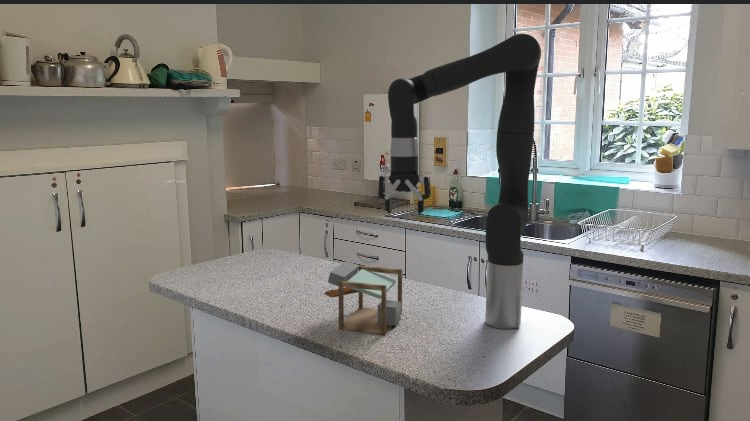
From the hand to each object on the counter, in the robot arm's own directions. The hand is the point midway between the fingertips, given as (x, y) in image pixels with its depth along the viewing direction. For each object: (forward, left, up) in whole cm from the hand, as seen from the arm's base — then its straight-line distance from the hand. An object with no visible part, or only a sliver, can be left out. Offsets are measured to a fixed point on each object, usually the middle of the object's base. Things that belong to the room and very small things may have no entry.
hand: (404, 213), depth 160 cm
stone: (+4, +10, -26) cm, 28 cm away
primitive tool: (+20, -14, -29) cm, 38 cm away
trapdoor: (+9, +10, -19) cm, 23 cm away
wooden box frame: (+6, +10, -29) cm, 31 cm away
